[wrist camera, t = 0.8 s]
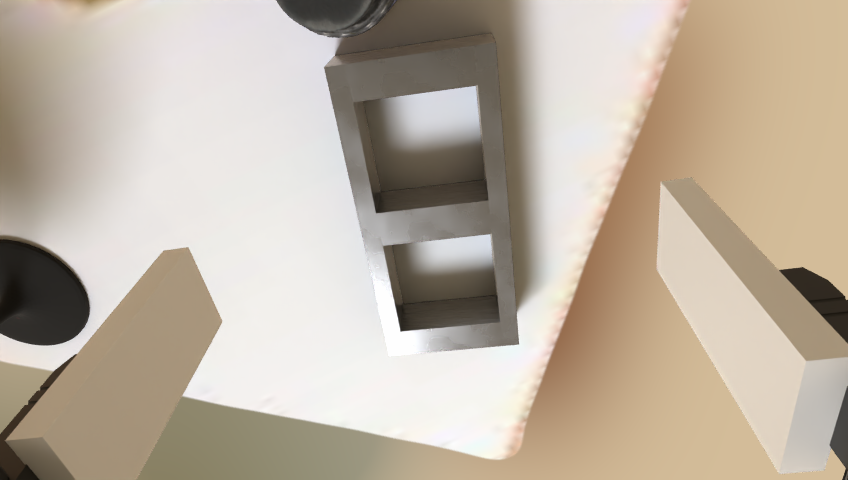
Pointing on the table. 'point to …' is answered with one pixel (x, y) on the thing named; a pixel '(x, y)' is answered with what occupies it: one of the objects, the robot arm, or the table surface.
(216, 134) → the table surface
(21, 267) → the wine glass
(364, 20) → the pill bottle
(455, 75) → the rectangular frame
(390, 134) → the table surface
